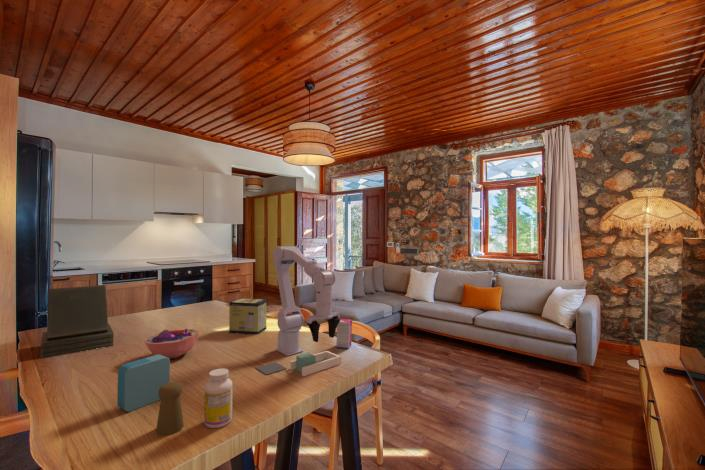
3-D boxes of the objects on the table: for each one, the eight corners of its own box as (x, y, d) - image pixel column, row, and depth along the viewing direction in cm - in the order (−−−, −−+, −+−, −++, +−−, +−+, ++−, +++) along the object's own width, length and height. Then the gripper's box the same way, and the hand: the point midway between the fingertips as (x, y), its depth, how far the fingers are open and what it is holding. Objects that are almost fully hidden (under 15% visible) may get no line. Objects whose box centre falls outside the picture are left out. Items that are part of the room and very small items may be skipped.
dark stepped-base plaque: (40, 359, 127) (41, 294, 127) (42, 346, 142) (43, 288, 142) (113, 346, 142) (114, 289, 142) (108, 336, 157) (109, 284, 157)
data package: (161, 392, 100) (162, 352, 100) (169, 396, 98) (170, 355, 98) (116, 409, 90) (117, 365, 90) (124, 414, 88) (125, 369, 88)
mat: (255, 368, 119) (255, 367, 119) (275, 362, 125) (275, 362, 125) (266, 375, 113) (266, 374, 113) (286, 369, 119) (286, 368, 119)
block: (296, 369, 119) (296, 355, 119) (307, 366, 122) (307, 352, 122) (304, 374, 115) (304, 359, 115) (315, 370, 118) (315, 356, 118)
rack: (290, 369, 119) (290, 361, 119) (327, 357, 130) (327, 350, 130) (303, 376, 113) (303, 368, 113) (341, 363, 124) (341, 356, 124)
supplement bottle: (211, 414, 88) (212, 366, 88) (236, 415, 88) (236, 366, 88) (199, 429, 81) (199, 376, 81) (225, 429, 81) (226, 377, 81)
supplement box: (349, 349, 141) (349, 322, 141) (335, 348, 142) (336, 321, 142) (352, 345, 146) (352, 319, 146) (339, 344, 147) (339, 318, 148)
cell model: (208, 351, 136) (209, 324, 136) (163, 369, 118) (163, 337, 118) (180, 345, 143) (181, 319, 143) (133, 361, 125) (134, 331, 125)
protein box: (238, 327, 173) (238, 298, 173) (266, 329, 171) (267, 299, 171) (228, 333, 162) (228, 301, 163) (258, 334, 160) (258, 303, 160)
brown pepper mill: (189, 424, 83) (189, 380, 83) (168, 438, 77) (169, 391, 78) (171, 419, 85) (171, 377, 85) (149, 432, 79) (150, 387, 80)
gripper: (314, 307, 116) (314, 345, 116) (345, 302, 126) (345, 337, 126) (303, 304, 121) (303, 341, 121) (333, 299, 131) (333, 333, 131)
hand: (323, 339), depth 124 cm, fingers open, 7 cm apart
